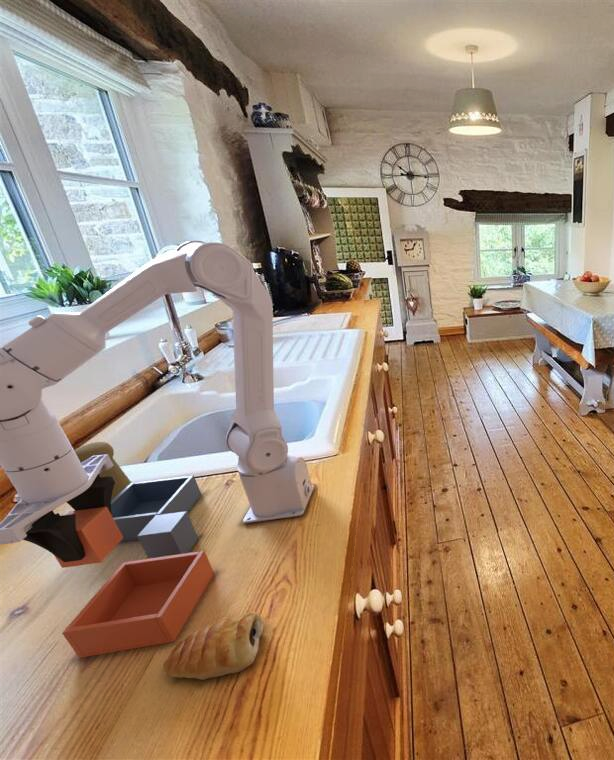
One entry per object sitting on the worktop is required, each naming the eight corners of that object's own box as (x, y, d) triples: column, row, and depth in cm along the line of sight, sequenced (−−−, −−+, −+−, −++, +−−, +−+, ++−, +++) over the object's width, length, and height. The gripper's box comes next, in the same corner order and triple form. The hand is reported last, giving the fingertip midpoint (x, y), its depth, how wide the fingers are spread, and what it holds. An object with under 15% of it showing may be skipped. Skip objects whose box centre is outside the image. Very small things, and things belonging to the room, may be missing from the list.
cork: (144, 486, 78) (121, 437, 74) (113, 508, 73) (86, 456, 68) (116, 485, 79) (91, 436, 74) (83, 507, 73) (54, 455, 69)
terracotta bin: (214, 573, 59) (204, 550, 57) (174, 641, 50) (160, 616, 48) (135, 585, 57) (122, 562, 56) (78, 658, 48) (61, 633, 46)
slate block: (198, 538, 65) (186, 511, 63) (183, 559, 61) (170, 531, 59) (168, 542, 65) (155, 515, 63) (151, 564, 61) (136, 536, 59)
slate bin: (201, 494, 75) (193, 475, 74) (169, 535, 66) (159, 513, 64) (140, 502, 74) (130, 482, 72) (99, 544, 65) (86, 523, 63)
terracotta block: (124, 537, 57) (107, 506, 55) (100, 562, 53) (81, 530, 51) (88, 542, 56) (69, 510, 54) (61, 568, 52) (40, 535, 50)
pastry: (158, 699, 44) (144, 677, 42) (182, 641, 50) (171, 620, 48) (256, 669, 46) (246, 646, 45) (268, 617, 52) (260, 595, 51)
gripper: (52, 430, 55) (96, 511, 60) (-69, 502, 41) (2, 597, 47) (111, 424, 55) (150, 504, 61) (11, 493, 42) (71, 586, 48)
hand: (89, 544), depth 54 cm, fingers closed on terracotta block, 4 cm apart
